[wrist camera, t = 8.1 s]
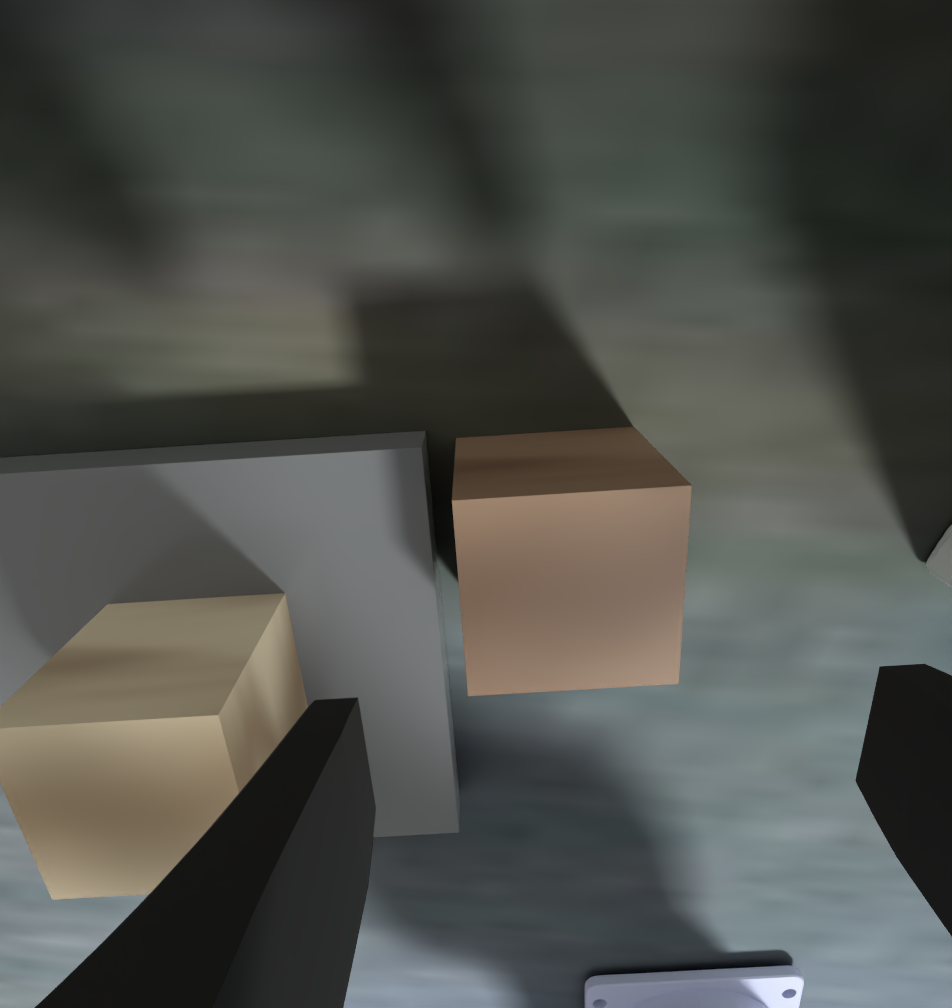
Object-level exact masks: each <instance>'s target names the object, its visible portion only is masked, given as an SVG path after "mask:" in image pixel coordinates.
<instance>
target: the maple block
mask: <svg viewBox="0 0 952 1008" xmlns="http://www.w3.org/2000/svg"><path fill="white" fill-rule="evenodd" d="M307 708H308V705H307V700H306V695H305V690H304V685H303V680H302V675H301V670H300V665H299V660H298V655H297V650H296V645H295V640H294V635H293V630H292V625H291V620H290V615H289V610H288V605H287V600H286V595H285V593H278V594H262V595H246V596H230V597H214V598H198V599H182V600H166V601H150V602H134V603H118V604H107V605H106V606H105V607H104V608H103V609H102V610H101V611H100V612H99V613H98V614H97V615H96V616H95V617H94V618H92V619H91V620H90V621H89V622H88V623H87V624H86V625H85V626H84V627H83V628H82V629H81V630H80V631H79V632H78V633H77V634H76V635H75V636H74V637H73V638H72V639H71V640H69V641H68V642H67V643H66V644H65V645H64V646H63V647H62V648H61V649H60V650H59V651H58V652H57V653H56V654H55V655H54V656H53V657H52V658H51V659H50V660H49V661H48V662H46V663H45V664H44V665H43V666H42V667H41V668H40V669H39V670H38V671H37V672H36V673H35V674H34V675H33V676H32V677H31V678H30V679H29V680H28V681H27V682H26V683H25V684H23V685H22V686H21V687H20V688H19V689H18V690H17V691H16V692H15V693H14V694H13V695H12V696H11V697H10V698H9V699H8V700H7V701H6V702H5V703H4V704H3V705H2V706H0V784H1V786H2V788H3V790H4V793H5V795H6V797H7V799H8V801H9V804H10V806H11V808H12V810H13V813H14V815H15V817H16V819H17V822H18V824H19V826H20V828H21V831H22V833H23V835H24V837H25V840H26V842H27V844H28V846H29V848H30V851H31V853H32V855H33V857H34V860H35V862H36V864H37V866H38V869H39V871H40V873H41V875H42V878H43V880H44V882H45V884H46V886H47V889H48V891H49V893H50V895H51V898H52V900H53V899H70V898H88V897H106V896H123V895H141V894H150V893H151V892H152V891H153V890H154V889H155V888H156V886H157V885H158V884H159V883H160V882H161V881H162V880H163V879H164V878H165V877H166V876H167V874H168V873H169V872H170V871H171V870H172V869H173V868H174V867H175V866H176V865H177V863H178V862H179V861H180V860H181V859H182V858H183V857H184V856H185V855H186V854H187V853H188V851H189V850H190V849H191V848H192V847H193V846H194V845H195V844H196V843H197V842H198V841H199V839H200V838H201V837H202V836H203V835H204V834H205V833H206V831H207V830H208V829H209V828H210V827H211V826H212V824H213V823H214V822H215V821H216V820H217V818H218V817H219V816H220V815H221V814H222V813H223V811H224V810H225V809H226V808H227V807H228V805H229V804H230V803H231V802H232V801H233V799H234V798H235V797H236V796H237V795H238V794H239V792H240V791H241V790H242V789H243V788H244V786H245V785H246V784H247V783H248V782H249V780H250V779H251V778H252V777H253V776H254V774H255V773H256V772H257V771H258V769H259V768H260V767H261V766H262V764H263V763H264V762H265V761H266V759H267V758H268V757H269V756H270V754H271V753H272V752H273V751H274V749H275V748H276V747H277V746H278V744H279V743H280V742H281V740H282V739H283V738H284V737H285V735H286V734H287V733H288V732H289V730H290V729H291V728H292V726H293V725H294V724H295V723H296V721H297V720H298V719H299V718H300V716H301V715H302V714H303V713H304V711H305V710H306V709H307Z"/></svg>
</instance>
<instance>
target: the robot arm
mask: <svg viewBox="0 0 952 1008" xmlns="http://www.w3.org/2000/svg"><path fill="white" fill-rule="evenodd" d="M856 783H857V785H858V787H859V789H860V790H861V792H862V794H863V796H864V798H865V800H866V802H867V804H868V806H869V808H870V810H871V812H872V814H873V815H874V817H875V819H876V821H877V823H878V825H879V827H880V828H881V830H882V832H883V834H884V835H885V837H886V839H887V841H888V842H889V844H890V846H891V848H892V850H893V851H894V853H895V855H896V857H897V858H898V859H899V861H900V862H901V864H902V865H903V867H904V868H905V870H906V871H907V873H908V874H909V876H910V877H911V879H912V880H913V882H914V883H915V884H916V886H917V887H918V889H919V890H920V892H921V893H922V894H923V896H924V897H925V899H926V900H927V902H928V903H929V905H930V906H931V907H932V909H933V910H934V912H935V913H936V915H937V916H938V917H939V919H940V920H941V922H942V923H943V925H944V926H945V927H946V929H947V930H948V932H949V933H950V935H951V936H952V676H951V675H949V674H947V673H945V672H942V671H940V670H938V669H935V668H933V667H931V666H928V665H926V664H916V665H899V666H882V667H880V668H879V673H878V678H877V682H876V687H875V692H874V696H873V701H872V706H871V711H870V715H869V720H868V725H867V729H866V734H865V739H864V744H863V748H862V753H861V758H860V762H859V767H858V772H857V776H856ZM375 814H376V805H375V799H374V793H373V786H372V780H371V774H370V768H369V762H368V755H367V749H366V743H365V737H364V731H363V724H362V718H361V712H360V706H359V700H358V697H356V698H339V699H322V700H314V701H313V702H312V703H311V704H310V705H309V706H308V708H307V709H306V710H305V711H304V713H303V714H302V715H301V716H300V718H299V719H298V720H297V721H296V723H295V724H294V725H293V726H292V728H291V729H290V730H289V732H288V733H287V734H286V735H285V737H284V738H283V739H282V740H281V742H280V743H279V744H278V746H277V747H276V748H275V749H274V751H273V752H272V753H271V754H270V756H269V757H268V758H267V759H266V761H265V762H264V763H263V764H262V766H261V767H260V768H259V769H258V771H257V772H256V773H255V774H254V776H253V777H252V778H251V779H250V780H249V782H248V783H247V784H246V785H245V786H244V788H243V789H242V790H241V791H240V792H239V794H238V795H237V796H236V797H235V798H234V799H233V801H232V802H231V803H230V804H229V805H228V807H227V808H226V809H225V810H224V811H223V813H222V814H221V815H220V816H219V817H218V818H217V820H216V821H215V822H214V823H213V824H212V826H211V827H210V828H209V829H208V830H207V831H206V833H205V834H204V835H203V836H202V837H201V838H200V839H199V841H198V842H197V843H196V844H195V845H194V846H193V847H192V848H191V849H190V850H189V851H188V853H187V854H186V855H185V856H184V857H183V858H182V859H181V860H180V861H179V862H178V863H177V865H176V866H175V867H174V868H173V869H172V870H171V871H170V872H169V873H168V874H167V876H166V877H165V878H164V879H163V880H162V881H161V882H160V883H159V884H158V885H157V886H156V888H155V889H154V890H153V891H152V892H151V893H150V894H149V895H148V896H147V897H146V898H145V900H144V901H143V902H142V903H141V904H140V905H139V906H138V907H137V908H136V909H135V910H134V911H133V912H132V913H131V914H130V915H129V916H128V917H127V918H126V919H125V920H124V921H123V922H122V923H121V924H120V925H119V926H118V927H117V928H116V929H115V930H114V932H113V933H112V934H111V935H110V936H109V937H108V938H107V939H106V940H105V941H104V942H103V943H102V944H101V945H100V946H99V947H98V948H97V949H96V950H95V951H94V952H92V953H91V954H90V955H89V956H88V957H87V958H86V959H85V960H84V961H83V962H82V963H81V964H80V965H79V966H78V967H77V968H76V969H75V970H74V971H73V972H72V973H71V974H70V975H69V976H68V977H67V978H66V979H65V980H64V981H62V982H61V983H60V984H59V985H58V986H57V987H56V988H55V989H54V990H53V991H52V992H51V993H50V994H49V995H48V996H47V997H46V998H45V999H44V1000H43V1001H41V1002H40V1003H39V1004H38V1005H37V1006H36V1007H35V1008H343V1006H344V1001H345V996H346V992H347V987H348V982H349V977H350V972H351V968H352V963H353V958H354V953H355V948H356V944H357V939H358V934H359V929H360V924H361V919H362V914H363V909H364V904H365V899H366V894H367V889H368V883H369V874H370V865H371V856H372V846H373V835H374V825H375ZM803 985H804V979H803V977H802V975H801V973H800V971H799V970H798V968H796V967H794V966H789V965H785V966H766V967H747V968H728V969H710V970H691V971H672V972H653V973H634V974H615V975H598V976H593V977H591V978H589V979H588V980H587V981H586V983H585V1008H799V1005H800V1000H801V995H802V990H803Z"/></svg>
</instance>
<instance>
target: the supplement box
mask: <svg viewBox="0 0 952 1008" xmlns="http://www.w3.org/2000/svg"><path fill="white" fill-rule="evenodd" d="M926 568H927V570H928V572H930V573H931V574H932V575H934V576H935V577H936V578H938V579H939V580H941V581H942V582H944V583H945V584H946V585H948V586H949V587H951V588H952V524H951V526H950V527H949V528H948V529H947V530H946V532H945V534H944V535H943V537H942V538H941V540H940V541H939V542H938V544H937V546H936V547H935V549H934V550H933V552H932V553H931V555H930V556H929V558H928V560H927V562H926Z"/></svg>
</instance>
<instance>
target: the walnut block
mask: <svg viewBox="0 0 952 1008" xmlns="http://www.w3.org/2000/svg"><path fill="white" fill-rule="evenodd" d="M691 490H692V485H691V484H690V483H689V482H688V481H687V480H686V479H685V478H684V477H683V476H682V475H681V474H680V473H679V472H678V471H677V470H676V469H675V468H674V467H673V466H672V465H671V464H670V463H669V462H668V461H667V460H666V459H665V458H664V457H663V456H662V455H661V454H660V453H659V452H658V451H657V450H656V449H655V448H654V447H653V446H652V445H651V444H650V443H649V442H648V441H647V440H646V439H645V438H644V437H643V436H642V435H641V434H640V433H639V432H638V431H637V430H636V429H635V428H634V427H619V428H603V429H588V430H572V431H557V432H541V433H526V434H510V435H495V436H479V437H464V438H456V445H455V460H454V475H453V491H452V509H453V521H454V533H455V545H456V557H457V569H458V581H459V593H460V605H461V617H462V629H463V641H464V653H465V665H466V677H467V690H468V696H480V695H497V694H514V693H530V692H547V691H564V690H581V689H597V688H614V687H631V686H647V685H664V684H679V669H680V654H681V639H682V624H683V609H684V594H685V580H686V565H687V550H688V535H689V520H690V505H691Z"/></svg>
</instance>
